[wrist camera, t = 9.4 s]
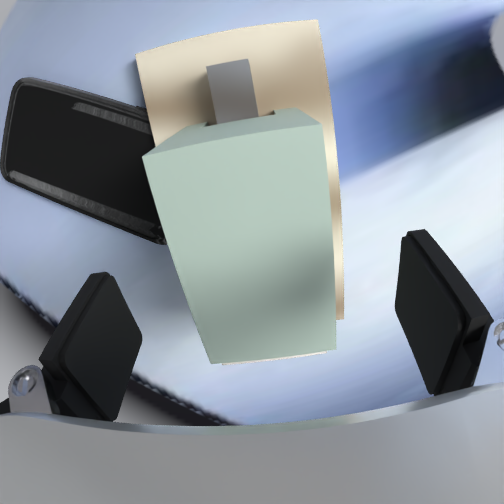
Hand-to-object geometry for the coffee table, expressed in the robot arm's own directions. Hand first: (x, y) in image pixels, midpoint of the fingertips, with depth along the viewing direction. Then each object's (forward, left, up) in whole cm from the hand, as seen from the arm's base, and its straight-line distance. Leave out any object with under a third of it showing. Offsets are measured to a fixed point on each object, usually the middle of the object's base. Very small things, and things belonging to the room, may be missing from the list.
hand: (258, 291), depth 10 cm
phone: (-4, -10, -11) cm, 16 cm away
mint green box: (+1, 0, -10) cm, 10 cm away
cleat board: (+1, 0, -11) cm, 11 cm away
